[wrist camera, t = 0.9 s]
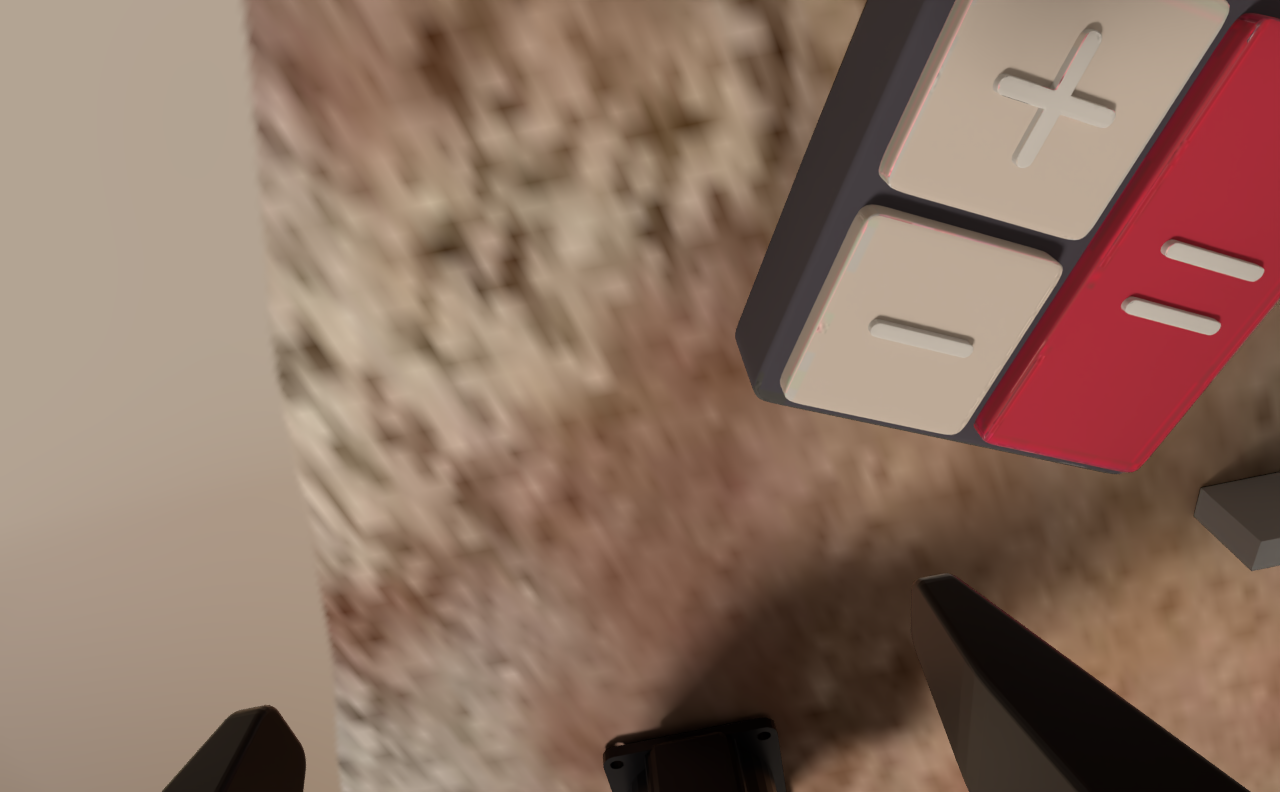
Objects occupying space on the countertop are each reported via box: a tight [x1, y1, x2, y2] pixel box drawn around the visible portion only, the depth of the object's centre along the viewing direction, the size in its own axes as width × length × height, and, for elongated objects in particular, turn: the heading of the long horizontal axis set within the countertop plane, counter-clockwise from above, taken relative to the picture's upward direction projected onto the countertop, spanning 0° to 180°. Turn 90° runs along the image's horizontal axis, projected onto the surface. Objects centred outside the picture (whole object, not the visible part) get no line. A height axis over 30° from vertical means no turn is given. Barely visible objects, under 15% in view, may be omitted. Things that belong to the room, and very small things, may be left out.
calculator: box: [735, 0, 1280, 474], centre depth 17 cm, size 11×4×15 cm
